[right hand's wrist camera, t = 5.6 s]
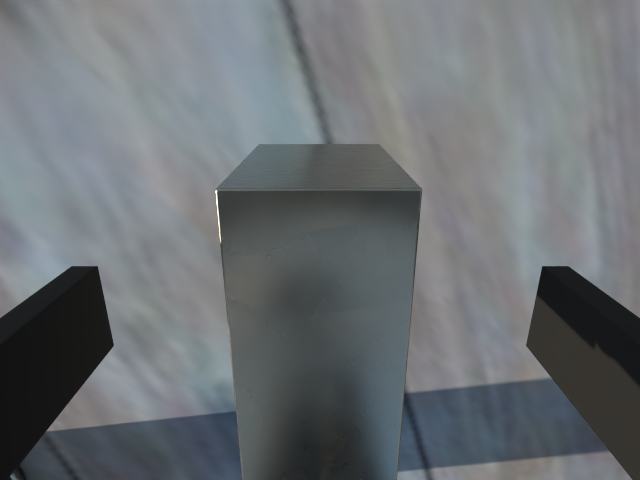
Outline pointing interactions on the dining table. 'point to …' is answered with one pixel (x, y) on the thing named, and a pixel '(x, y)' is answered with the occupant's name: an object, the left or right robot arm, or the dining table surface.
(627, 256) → the dining table surface
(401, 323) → the box
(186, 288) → the dining table surface
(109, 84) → the dining table surface
